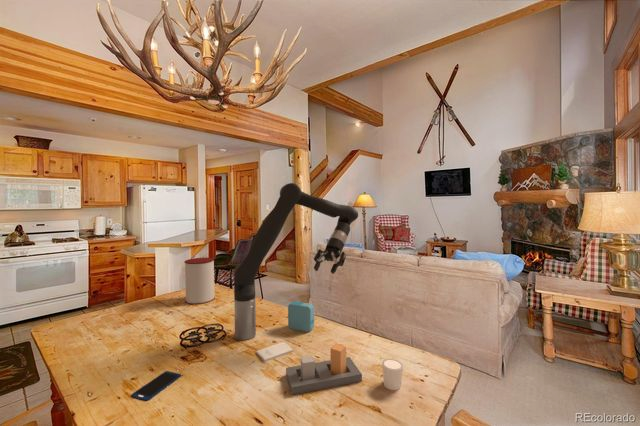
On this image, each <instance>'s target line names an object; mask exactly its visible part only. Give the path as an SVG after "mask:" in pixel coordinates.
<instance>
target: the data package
mask: <svg viewBox="0 0 640 426" xmlns="http://www.w3.org/2000/svg"><path fill="white" fill-rule="evenodd" d="M287 323H288V324H287V326H288V328H290V329H291V330H292V329H293V330H297V331H301V332H306V333H308V332H310V331H311V330H312V329H314V327H315V306H314V304H312V303H310V302H302V301H296V300H295V301H292V302H291V303H289V304H288V305H287Z"/></svg>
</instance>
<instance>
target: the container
mask: <svg viewBox="0 0 640 426" xmlns="http://www.w3.org/2000/svg"><path fill="white" fill-rule="evenodd" d="M214 263H215V258H213V257H194V258H189V259H185V260H184V266H185V267H184V268H185V269H184V270H185V273H184V274H185V278H184V280H185V300H184V302H185V303H186V304H187V305H192V304H195V305H202V304H203V305H204V304H208V303H210V302H213V301H214V300H215V299H216V296H215V264H214Z"/></svg>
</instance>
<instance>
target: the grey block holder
mask: <svg viewBox="0 0 640 426" xmlns="http://www.w3.org/2000/svg"><path fill="white" fill-rule="evenodd" d="M285 375H286V379H287V382H288V386H289V389H290V393H291V396H293V395H299V394H303V393H309V392H314V391H319V390H325V389H330V388H333V387H338V386H344V385H351V384H355V383H360V382H362V381H363V379H362V378H363V374H362V372H361V371H360V369H359V368H358V367H357V365H356V364H355V362H354V361H353V360H352V359H351V357H350V356H348V357H347V356H346V373H343V374H338V375H332V374H331V359H329V360H323V361H317V362H316V360H315V359H314V357H313V355H312V354H311V355H305V356H300V364H299V365H294V366H287V367H286V368H285Z"/></svg>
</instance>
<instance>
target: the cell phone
mask: <svg viewBox="0 0 640 426" xmlns="http://www.w3.org/2000/svg"><path fill="white" fill-rule="evenodd" d="M181 377H182V374H181V373H179V372H173V371H169V370H165V371H163V372H162V373H161V374H159V375H158V376H156V377H155V378H153V379H152V380H149V382H148V383H146V384H144V385H143V386H142V387H140V388H138V389H137V390H136V391H134V392H133V393H131V395H130V398H132V399H135V400H140V401H143V402H149V401H150V400H152V399H153V398H154V397H156V396H157V395H158V394H159V393H161V392H163V391H164V390H165V389H166V388H168V387H169V386H170V385H171V384H173V383H175V381H177V380H178V379H180V378H181ZM167 386H168V387H167Z"/></svg>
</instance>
